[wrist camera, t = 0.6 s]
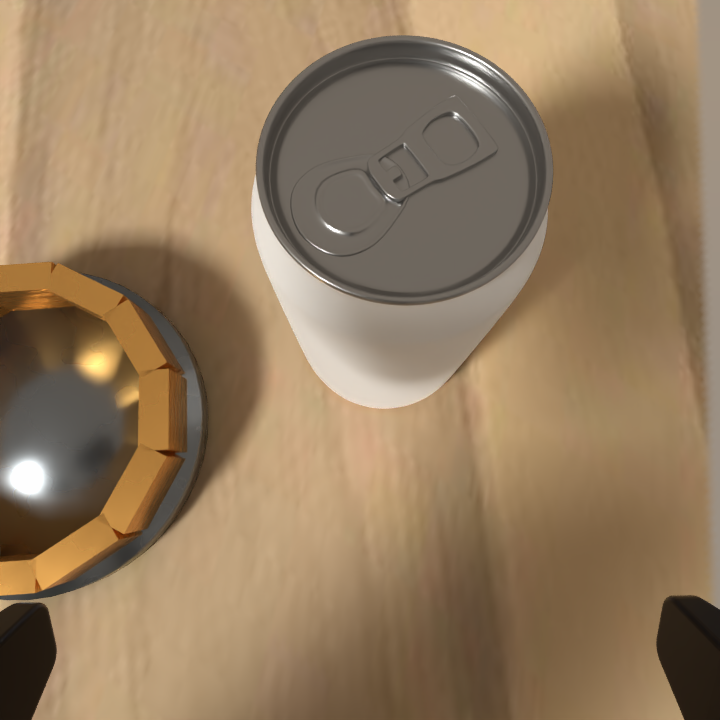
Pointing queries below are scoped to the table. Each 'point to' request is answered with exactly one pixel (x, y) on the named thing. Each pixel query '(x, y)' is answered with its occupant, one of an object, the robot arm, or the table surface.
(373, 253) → the can
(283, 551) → the table surface
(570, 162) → the table surface
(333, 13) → the table surface
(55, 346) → the ring plate
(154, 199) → the table surface
